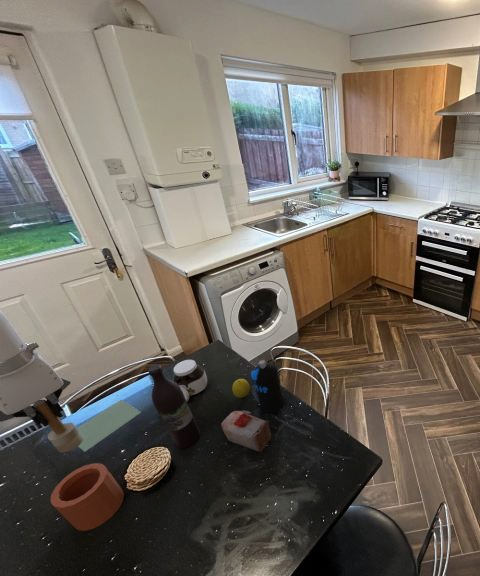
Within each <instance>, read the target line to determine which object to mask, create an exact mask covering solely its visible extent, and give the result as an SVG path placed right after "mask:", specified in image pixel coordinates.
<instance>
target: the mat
mask: <svg viewBox="0 0 480 576" xmlns="http://www.w3.org/2000/svg"><path fill="white" fill-rule="evenodd" d="M141 413H142V412H141V411H140V410H138V409H137V408H135V407H133V406H132V405H131V404H129V403H128V402H127V401H124V400H123V399H120V400H118V401H117V402H115V403H114V404H112V405H111V406H108V407H107V408H106V409H104V410H103V411H101V412H100V413H98V414H97V415H95V416H94V417H91V418H90V419H89V420H87V421H86V422H84V423H82V424H81V425H79V426H77V427H76V428H77V429H78V431H79V432H80V433H81V435H82V436H83V441H82V443H81V444H80V445H79V446H77V448H79V449H80V450H82V451H83V452H84V453H86V452H87V451H88V450H90V449H91V448H93V447H94V446H96V445H97V444H99V443H100V442H101V441H103V440H105V439H106V438H107V437H109V436H110V435H111V434H113V433H114V432H115V431H117V430H118V429H120V428H121V427H123V426H124V425H126V424H127V423H128V422H129V421H131V420H133V419H134V418H135V417H137V416H138V415H140V414H141Z"/></svg>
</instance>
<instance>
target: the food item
mask: <svg viewBox="0 0 480 576" xmlns="http://www.w3.org/2000/svg"><path fill="white" fill-rule="evenodd" d="M251 414H252V412H250V411H249V410H245V409H244V410H234V411H232V412H231V413H230V414H228V415H227V416H226V417H225V418H224V420H223V421H222V422H221V424H220V425H221V429H222V431H223V433H224V435H225V436H226V439H227V441H229V442H231V443H233V444H236V445H240V446H242V447H244V448H248V449H251V450H252V451H255V452H260V453H261V452H262V451H263V450H264V449H265V448H266V446H267V445H268V443H269V442H270V440H271V439H272V433H271V429H270V425H269V422H268V420H264V419H262V418H259V417H256V416H254V415H251Z"/></svg>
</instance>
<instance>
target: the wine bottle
mask: <svg viewBox="0 0 480 576" xmlns="http://www.w3.org/2000/svg"><path fill="white" fill-rule="evenodd" d="M148 374H149V376H151V378H152V381H153V386H152V389H151V401H152V404H153V406H154V408H155V409H156V411H157V414H158V416H159V418H160V419H161V421H162V423H163V426H164V427H165V429H166V431H167V433H168V434H169V436H170V439H171V440H172V442H173V445H174V446H175V447H176V448H178V449H179V450H181V449H183V450H184V449H188V448H190V447H191V446H193V445H195V444H196V443H197V441H198V440H199V439H200V437H201V431H200V429H199V426H198V424H197V421H196V419H195V417H194V415H193V413H192V410H191V408H190V406H189V403H188V401H186V399H185V396H184V394H183V392H182V390H181V388H180V387H179V386H178V384H177V383H175V382H173V381H172V379H169V378H167V377H166V375H165V374H164V372H163V368H162V366H161V365H160V364H154V365H152V366H150V367H149V368H148Z"/></svg>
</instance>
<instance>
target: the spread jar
mask: <svg viewBox="0 0 480 576" xmlns="http://www.w3.org/2000/svg"><path fill="white" fill-rule="evenodd" d="M171 381H173V382H175V383H177V384H178V386H179V387H180V388H181V390H182V392H183V394H184V396H185V399H186V401H187V402H188V401H189V399H190V398H192V397H196V396H198V395H200V394H201V393H203V392H204V390H205V389H206V388H207V386H208V376H207V373H206V370H205V368H204V367H203V366H202V365H200V364H197V362H196V360H193V359H185V360H182V361H180V362H178V363H177V364H175V366H174V367H173V375H172V378H171Z"/></svg>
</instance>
